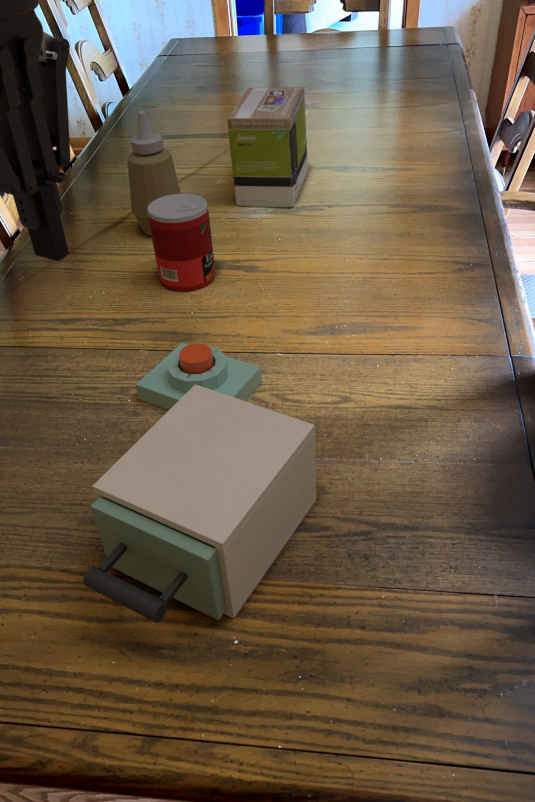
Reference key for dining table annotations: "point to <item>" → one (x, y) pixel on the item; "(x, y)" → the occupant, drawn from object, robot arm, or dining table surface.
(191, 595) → the drawer
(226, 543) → the grey box-shaped casing
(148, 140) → the squeeze bottle
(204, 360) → the button
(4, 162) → the robot arm
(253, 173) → the tea box
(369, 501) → the dining table surface
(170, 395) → the panel
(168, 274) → the canned food
